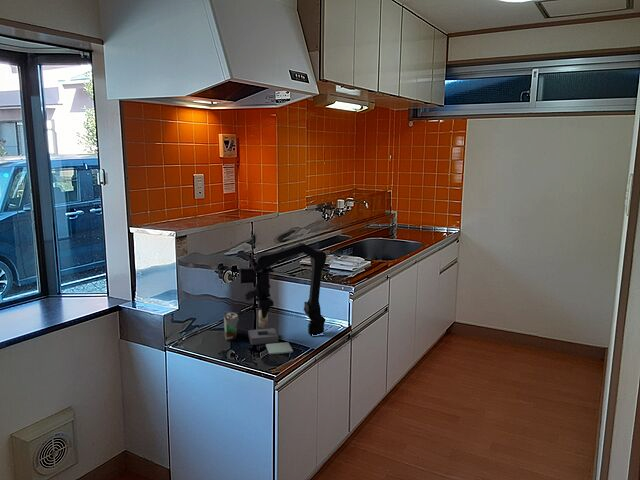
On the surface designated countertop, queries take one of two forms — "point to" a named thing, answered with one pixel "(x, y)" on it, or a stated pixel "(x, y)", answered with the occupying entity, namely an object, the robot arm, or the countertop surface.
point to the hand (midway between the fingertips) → (263, 316)
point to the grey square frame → (263, 336)
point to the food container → (230, 325)
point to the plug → (263, 320)
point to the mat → (279, 348)
